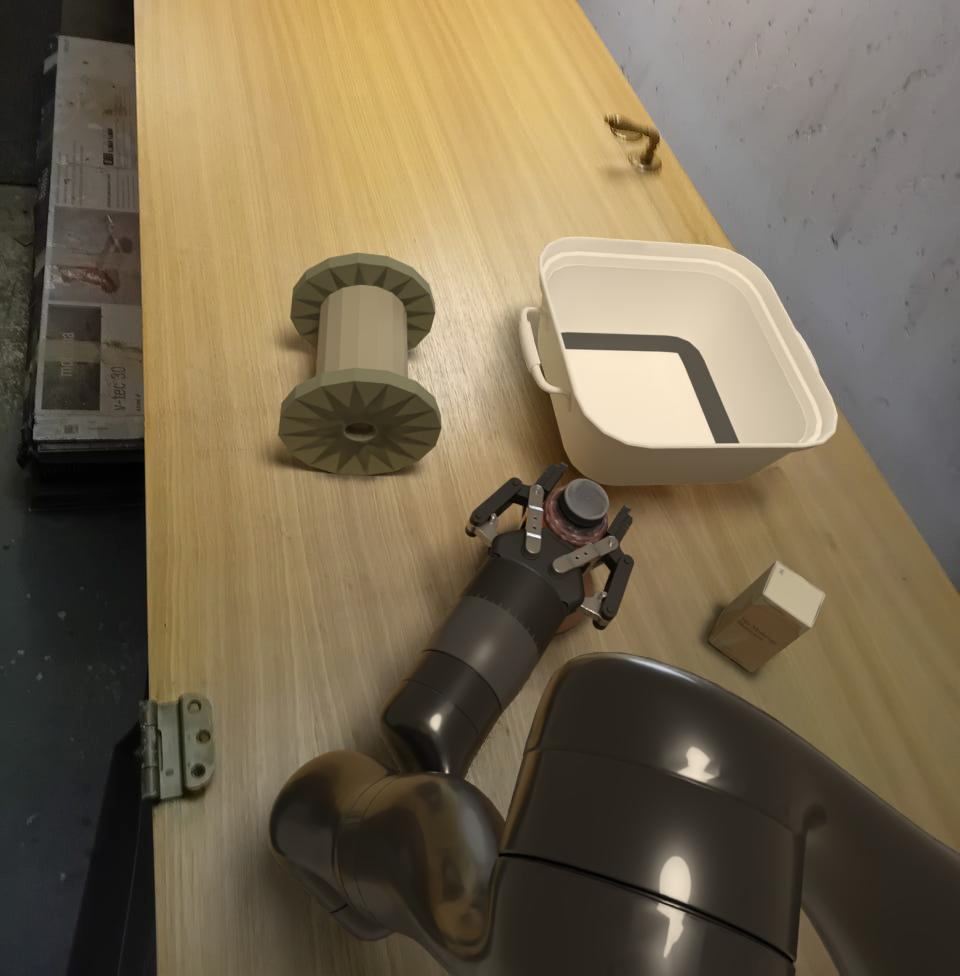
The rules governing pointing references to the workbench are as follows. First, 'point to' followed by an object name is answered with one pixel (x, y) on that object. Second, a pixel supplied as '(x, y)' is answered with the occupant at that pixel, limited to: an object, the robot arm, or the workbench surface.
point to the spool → (361, 367)
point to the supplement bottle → (577, 512)
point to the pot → (670, 363)
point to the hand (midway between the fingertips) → (592, 490)
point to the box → (767, 617)
